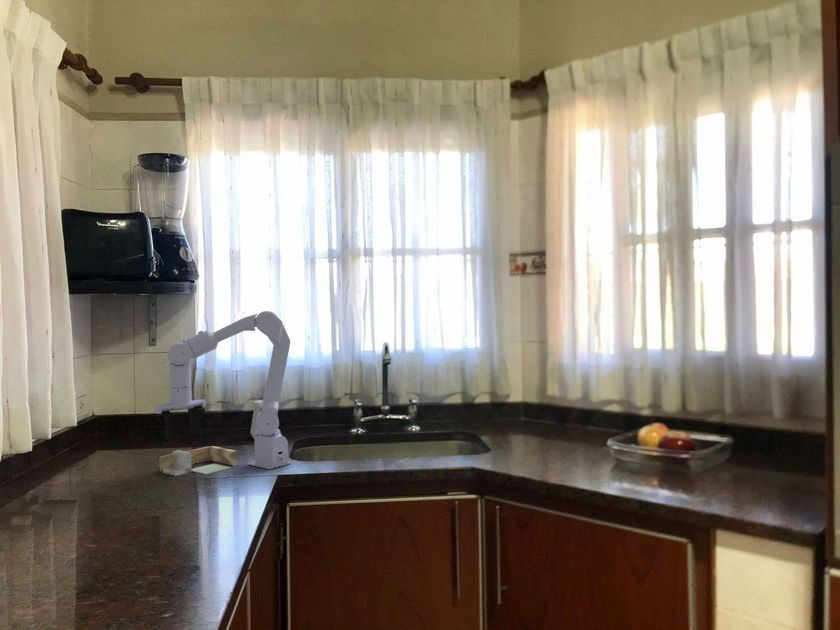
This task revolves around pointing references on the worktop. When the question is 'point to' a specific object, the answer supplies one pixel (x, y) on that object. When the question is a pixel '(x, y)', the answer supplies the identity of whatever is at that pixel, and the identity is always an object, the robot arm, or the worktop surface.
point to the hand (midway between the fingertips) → (181, 435)
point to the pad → (210, 469)
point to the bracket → (179, 463)
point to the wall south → (223, 455)
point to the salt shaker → (257, 407)
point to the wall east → (196, 457)
